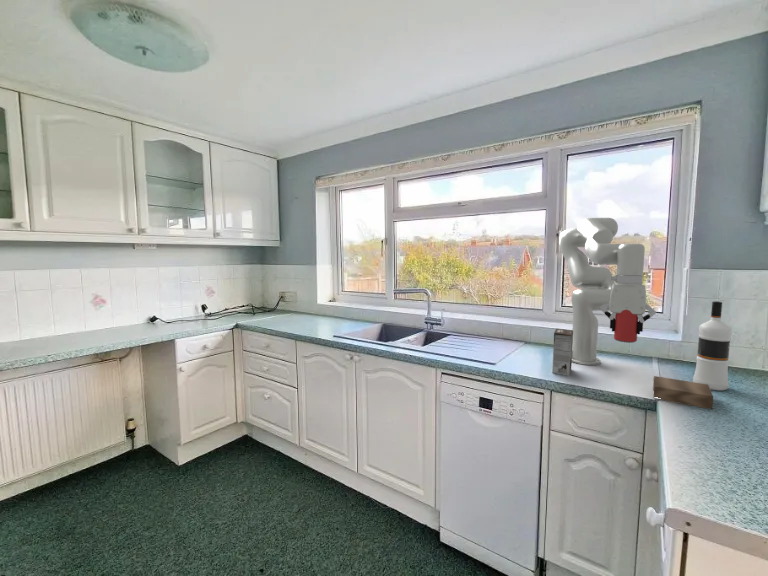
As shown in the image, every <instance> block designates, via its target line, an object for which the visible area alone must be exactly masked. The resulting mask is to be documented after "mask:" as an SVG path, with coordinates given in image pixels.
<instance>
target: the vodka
mask: <svg viewBox="0 0 768 576" xmlns="http://www.w3.org/2000/svg"><path fill="white" fill-rule="evenodd" d="M722 310H723V302H722V301H717V300H715V301H712V302H711V311H710V313H711V314H710V319H709V320H707V321H705V322H703V323H701V324H700V325H699V326H698V342H697V343H698V344H697V353H696V354H697V355H696V357H695V358H696V365H695V369H694V375H693V377H692V382H695V383H701V384H708V386H709V388H710V390H711V391H715V390H716V391H717V392H722V391H726V390H728V389H729V386H730V384H729V377H728V375H729V374H728V373H729V371H728V369H729V368H728V367H729V363H730V361H729V355H730V348H731V347H730V345H731V340H732V333H733V331H732V328H731V327H730V326H729V325H728V324H726V323H725V322H723V321H722Z"/></svg>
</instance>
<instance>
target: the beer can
mask: <svg viewBox="0 0 768 576" xmlns="http://www.w3.org/2000/svg"><path fill="white" fill-rule="evenodd" d="M626 308H627V307H626ZM638 322H639V319H638V317H637V315H634V314H632V313H631V312H630V311H629V310H623V311H622V312H621V313H616V315H615V330H614V332H613V338H614V340H615V341H618V342H619V343H635V342H637V341H638V334H637V327H638Z"/></svg>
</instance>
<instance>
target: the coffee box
mask: <svg viewBox="0 0 768 576" xmlns="http://www.w3.org/2000/svg"><path fill="white" fill-rule="evenodd" d="M572 344H573V329H571V330H570V329H564V328H555V330H554V332H553V346H552V347H553V348H552V349H553V350H552V351H553V352H552V374H555V373H557V374H556V375H562V374H563V375H562V376H568V375H570V376H571V372H572V365H573V364H572V363H573V362H572Z"/></svg>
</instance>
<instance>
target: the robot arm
mask: <svg viewBox="0 0 768 576" xmlns="http://www.w3.org/2000/svg"><path fill="white" fill-rule="evenodd" d="M618 230H619V225H618V222H617V221H616V220H615V219H614V218H612V217H588V218H584V219H582V220H580V221H579V223H578V224H577V228H576V227H575V228H568V229H565V230H563V231H562V232H561V233H560V235H559V241H558V243H559V244H558V245H559V249H560V252H561V254H562V256H563V258H564V259H565V261H566V264H567V268H568V274H569V278H570V281H571V284H572V286H574V287H575V288H577V289H576V290H574V291H573V292H572V293H571V306H572V330H573V344H572V363H575V364H579V365H583V366H584V365H586V366H597V365H600V364H601V359H600V358H598V357H597V354H598V353H597V352H598V350H597V349H598V337H599V335H598V334H599V320H598V318H597V316H596V315H595V313H594V312H597V311H599V312H600V311H601V312H602V313H604V315H605V316H606V317H607V318H608V320H610V321H609V329H611V332H613V333H614V330H615V315H616V313H621V312H622V311H623V310H629V311H630V312H631V313H632V314H634V315H637V317H638V327H637V335H640V334H641V332H642V333H643V332H644V331H643V329H644V328H643V327H644V323H645V322H646V321H648V320H649V319H650V318H652V317H653V316H655V315H656V314H657V311H656V310H655V309H654V308H652V307H651V306H650V305H649V304H648V303H647V289H646V285H645V284H643V281H644V280H643V279H644V278H643V277H644V264H645V251H646V249H645V245H644V244H641V243H612V241H613V238H614V237H615V236H616V235H617V234H618ZM579 248H584V251H585V253H584V252H583V251H582V250H580V249H579ZM589 260H590V261H591V262H592V263H594V264H596V265H599V266H592V265H590V262H589ZM600 265H601V266H600ZM602 265H605V266H602ZM606 265H607V266H608V265H615V266H616V272H615V273H616V274H615V275H614V276H613V273H612V271H611V270H610V268H607V267H606ZM626 307H627V308H626ZM646 310H647V311H648V312H649V313H647V314H646V315H644V314H645V313H646ZM643 315H644V316H643Z"/></svg>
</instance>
